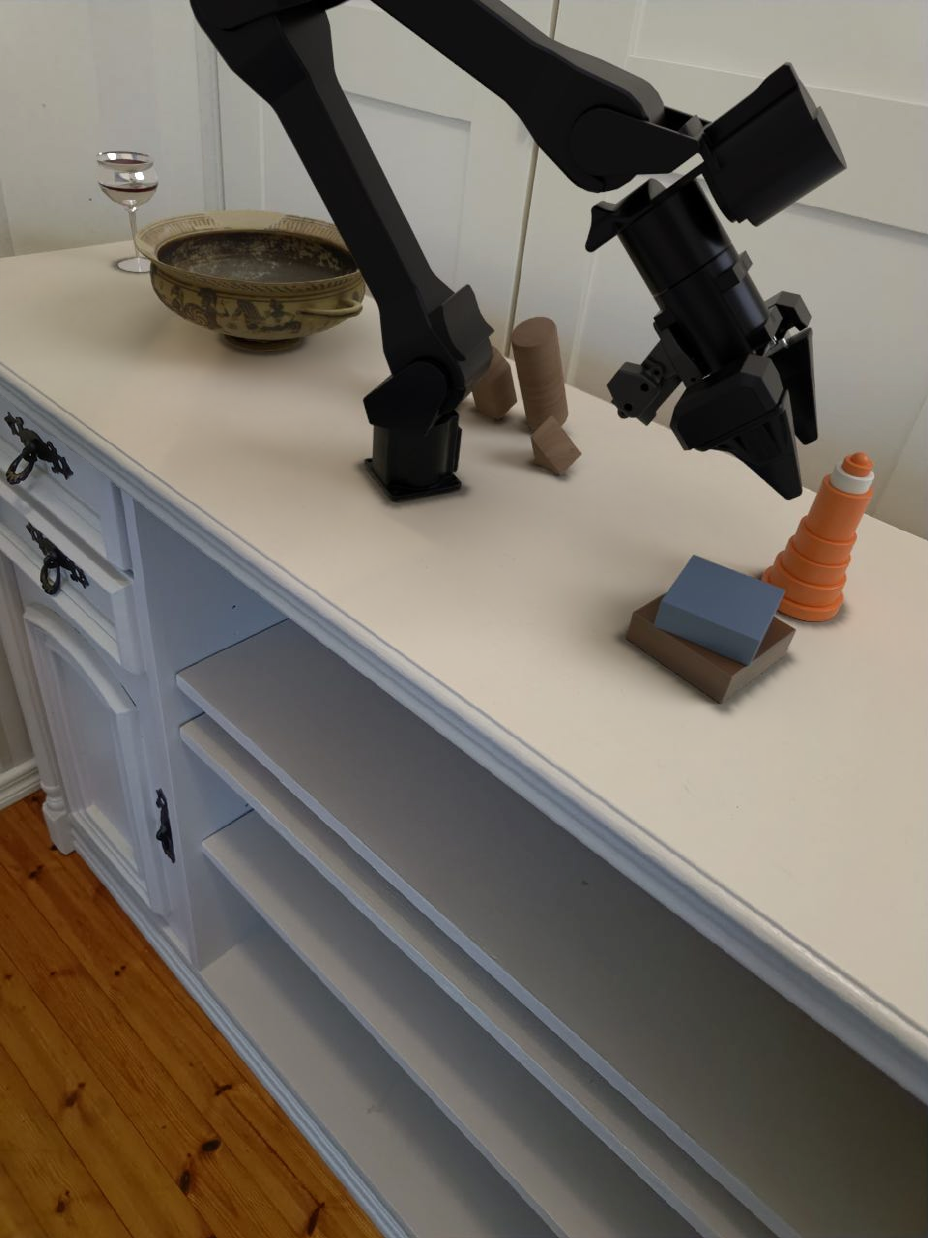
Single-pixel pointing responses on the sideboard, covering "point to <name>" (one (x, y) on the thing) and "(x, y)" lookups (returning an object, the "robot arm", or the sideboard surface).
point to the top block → (719, 609)
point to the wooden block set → (532, 391)
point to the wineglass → (128, 189)
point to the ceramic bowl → (253, 274)
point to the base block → (706, 654)
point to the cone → (823, 543)
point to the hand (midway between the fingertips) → (803, 467)
